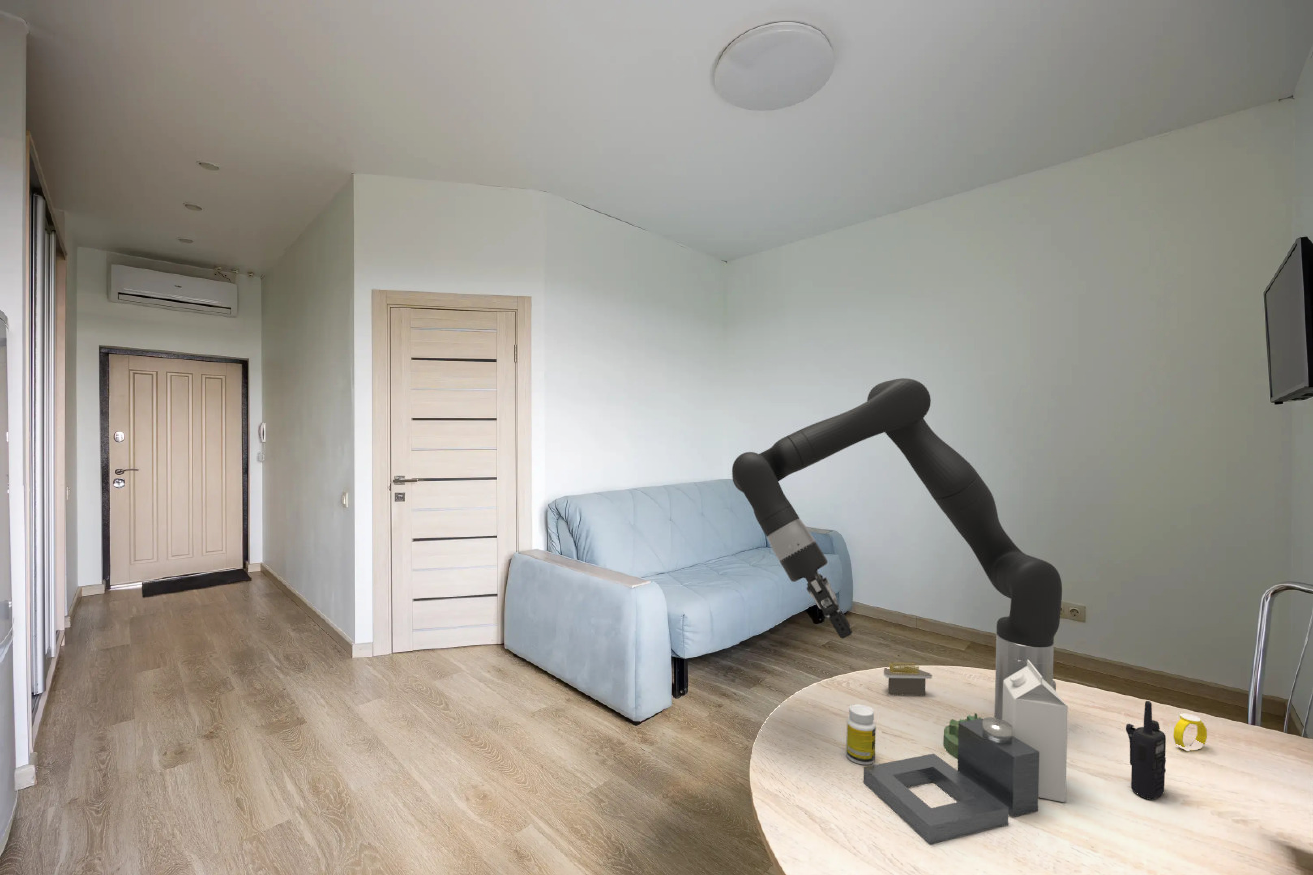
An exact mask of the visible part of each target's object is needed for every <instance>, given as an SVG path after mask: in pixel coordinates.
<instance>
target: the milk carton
mask: <svg viewBox="0 0 1313 875" xmlns="http://www.w3.org/2000/svg"><path fill="white" fill-rule="evenodd" d="M1068 708H1069V707H1068V705H1067V704H1066V703H1065V701H1064V700H1063V698H1062V697H1061V696H1060V695H1059V694H1058V692H1057V690H1056V691H1055V690H1054V689H1053V688H1052V687H1051V686H1050V685H1049V684H1048V683H1047V682H1046V681H1045V680H1043V679H1042V676H1041V675H1040V673H1039V672H1038V671H1037V670H1036V668H1035V667H1034V666H1033V665H1032V663H1031V662H1030V661H1029V660H1027V666H1026V667H1024V668H1023V669H1021V670H1019V671H1018V672H1016V673H1014V674H1013V675H1011V676H1009V677H1008V678H1006V679H1004V681H1003V711H1002V720H1004V721H1006V722H1008V723H1009V724H1011V725H1012V736H1013V737H1015V738H1017V739H1019V740H1020V741H1022V742H1024V743H1025V744H1027V745H1029V746H1031V747H1032V748H1034V749H1036V750H1037V751H1039V788H1038V799H1039V798H1041V799H1044V800H1050V801H1055V802H1060V803H1061V802H1062V803H1066V799H1067V798H1066V796H1067V763H1068V762H1067V758H1068V755H1067V753H1068V752H1067V751H1068V722H1069V720H1068V719H1069V718H1068V714H1069V709H1068Z"/></svg>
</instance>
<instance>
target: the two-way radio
mask: <svg viewBox="0 0 1313 875" xmlns="http://www.w3.org/2000/svg"><path fill="white" fill-rule="evenodd" d="M1152 707H1153V705H1152V702H1151V701H1150V700H1146V701H1145V702H1144V711H1143V712H1144V714H1143V726H1140V727H1135V725H1134V724H1131V723H1127V724H1126V726H1125V731H1126V734H1127V735H1128V740H1129V764H1130V767H1131V779H1130V781H1131V782H1130V788H1131V790H1132V791H1133V792H1134V793H1135V792H1136V793H1138V794H1137V795H1138V796H1140V797H1142V798H1144V797H1145V798H1144V799H1147V798H1148V800H1149V799H1150V800H1152V799H1153V800H1155V799H1157V798H1159V797H1160V795H1161V796H1162V795H1163V794H1164V793H1165V782H1166V781H1165V779H1166V778H1165V774H1166V772H1167V770H1166V761H1167V760H1166V758H1167V757H1166V743H1167V741H1166V734H1165V732H1164V731H1162V730H1161V728H1160V722H1158V721H1157V720H1154V719H1153V708H1152ZM1163 792H1164V793H1163ZM1136 793H1135V794H1136ZM1158 796H1159V797H1158Z"/></svg>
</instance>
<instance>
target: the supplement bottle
mask: <svg viewBox="0 0 1313 875" xmlns="http://www.w3.org/2000/svg"><path fill="white" fill-rule="evenodd" d="M848 710H849V711H848V717H847V719H846V736H845V737H846V744H845V745H846V747H845V748H846V749H845V754H846V757H847V758H848V759H849V761H852V762H853V763H855V764H858V765H862V766H863V765H865V766H866V765H867V766H870V765H873V763H875V761H876V730H877V729H876V728H877V726H876V724H875V721H874V720H875V717H874V716H875V714H874V710H873V708H871V707H870V706H868V705H864V704H855V703H854V704H851V705H850V706H849V709H848Z"/></svg>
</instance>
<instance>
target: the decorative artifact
mask: <svg viewBox="0 0 1313 875" xmlns="http://www.w3.org/2000/svg"><path fill="white" fill-rule="evenodd" d="M982 718H983V717H982V716H981V717H980V716H979V717H978V713H977V712H974V715H971V714H970V715H967V716H966V718H965V719H961V718H960V719H959V720H956V719H955V718H951V719H950V720H949V724H948V725H946V726H945V727H944V728H943V743H942V744H943V747H944V750H945V749H946V750H945V751H946V752H947V753H948V754H949V755H950V756H951V757H953V758H954V759H956V760H958V725H959V722H965V721H970V720H976V719H982Z"/></svg>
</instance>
